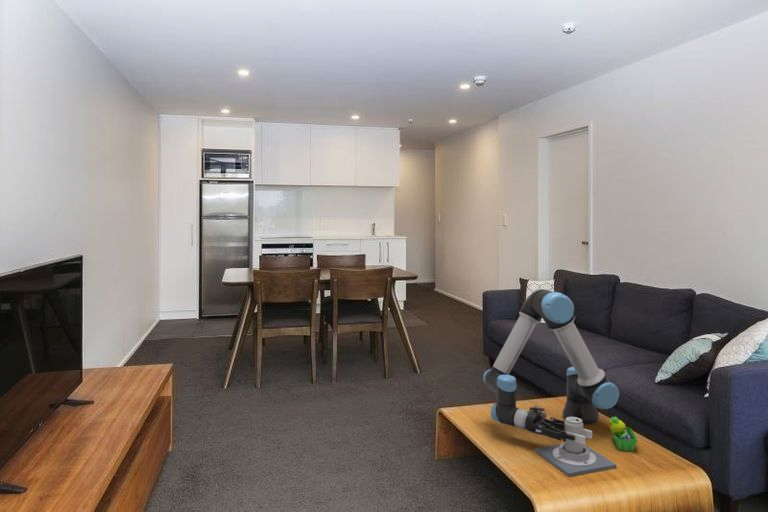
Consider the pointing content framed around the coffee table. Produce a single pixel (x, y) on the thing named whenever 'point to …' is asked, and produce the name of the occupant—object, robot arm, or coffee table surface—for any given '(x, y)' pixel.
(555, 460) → the board
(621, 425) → the fruit basket
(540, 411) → the brown piece
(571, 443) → the beverage can
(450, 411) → the coffee table surface
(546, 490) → the coffee table surface
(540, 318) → the robot arm
